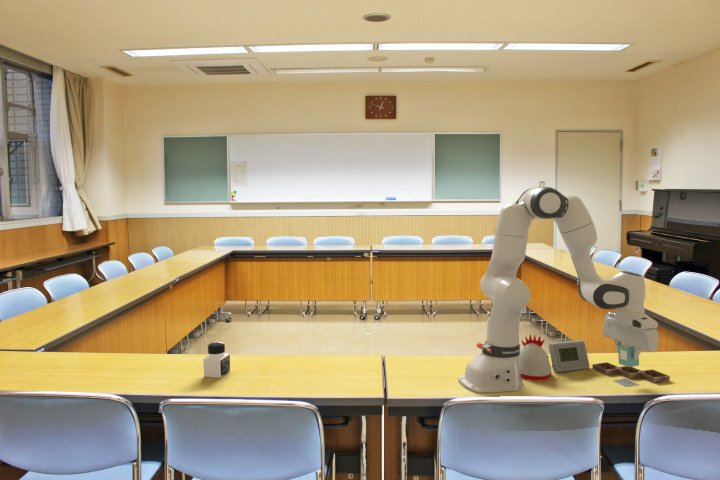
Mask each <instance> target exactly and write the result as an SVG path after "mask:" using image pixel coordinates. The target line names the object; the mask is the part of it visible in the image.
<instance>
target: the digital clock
mask: <svg viewBox="0 0 720 480" xmlns="http://www.w3.org/2000/svg"><path fill="white" fill-rule="evenodd" d="M548 351H549V354H550V355H549V357H550V360H551V361H550V362H551V368H552V371H553V372H554V373H556V374H557V373H568V372H569V373H570V372H576V371H581V370H587V369H590V361H589V356H588V352H587V346H586V343H585V341H584V340H583V339H577V340H575V339H574V340H573V339H572V340H564V341H557V342H551V343H549V344H548Z"/></svg>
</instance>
